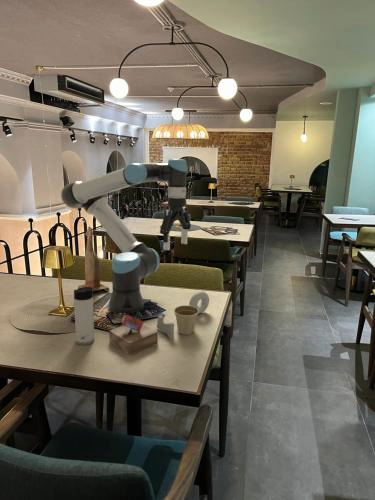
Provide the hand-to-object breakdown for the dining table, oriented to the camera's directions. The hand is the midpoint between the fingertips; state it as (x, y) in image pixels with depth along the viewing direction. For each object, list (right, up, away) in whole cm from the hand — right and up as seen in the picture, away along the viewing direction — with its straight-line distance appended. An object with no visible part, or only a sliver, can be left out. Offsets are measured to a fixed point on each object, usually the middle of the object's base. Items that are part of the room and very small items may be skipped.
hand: (175, 246), depth 159 cm
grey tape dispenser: (-3, -33, -20) cm, 38 cm away
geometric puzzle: (-14, -30, -29) cm, 44 cm away
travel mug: (-31, -34, -28) cm, 54 cm away
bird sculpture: (-40, -21, +20) cm, 50 cm away
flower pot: (+4, -33, -18) cm, 38 cm away
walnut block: (-14, -35, -28) cm, 47 cm away
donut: (+10, -29, -2) cm, 30 cm away
